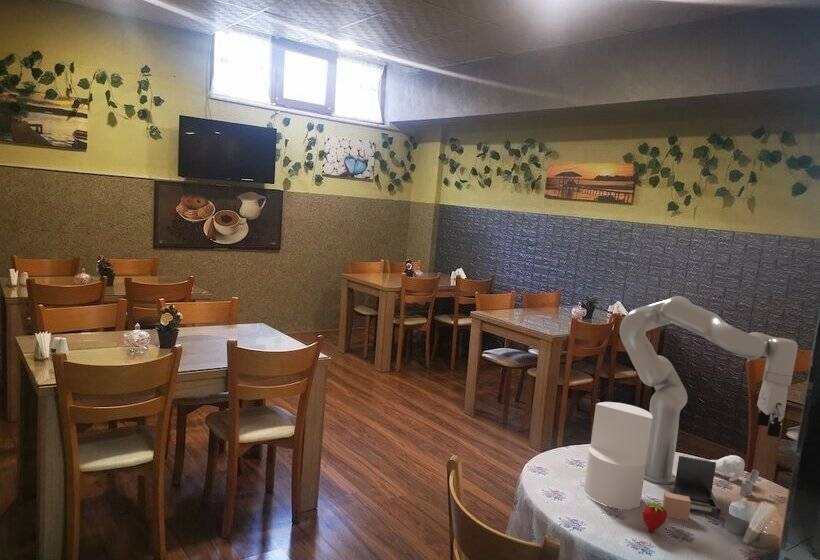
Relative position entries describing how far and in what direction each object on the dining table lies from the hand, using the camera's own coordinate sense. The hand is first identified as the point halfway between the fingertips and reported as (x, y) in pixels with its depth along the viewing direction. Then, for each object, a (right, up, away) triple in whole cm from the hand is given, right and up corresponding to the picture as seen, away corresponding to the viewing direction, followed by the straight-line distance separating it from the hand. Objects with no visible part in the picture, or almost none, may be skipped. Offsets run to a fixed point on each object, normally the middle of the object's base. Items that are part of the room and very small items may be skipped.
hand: (767, 430), depth 191 cm
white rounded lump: (0, -23, +26) cm, 35 cm away
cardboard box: (-32, -24, -7) cm, 41 cm away
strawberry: (-43, -25, -18) cm, 53 cm away
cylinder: (-48, -22, +3) cm, 53 cm away
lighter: (+1, -25, +13) cm, 28 cm away
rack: (-21, -24, +3) cm, 32 cm away
